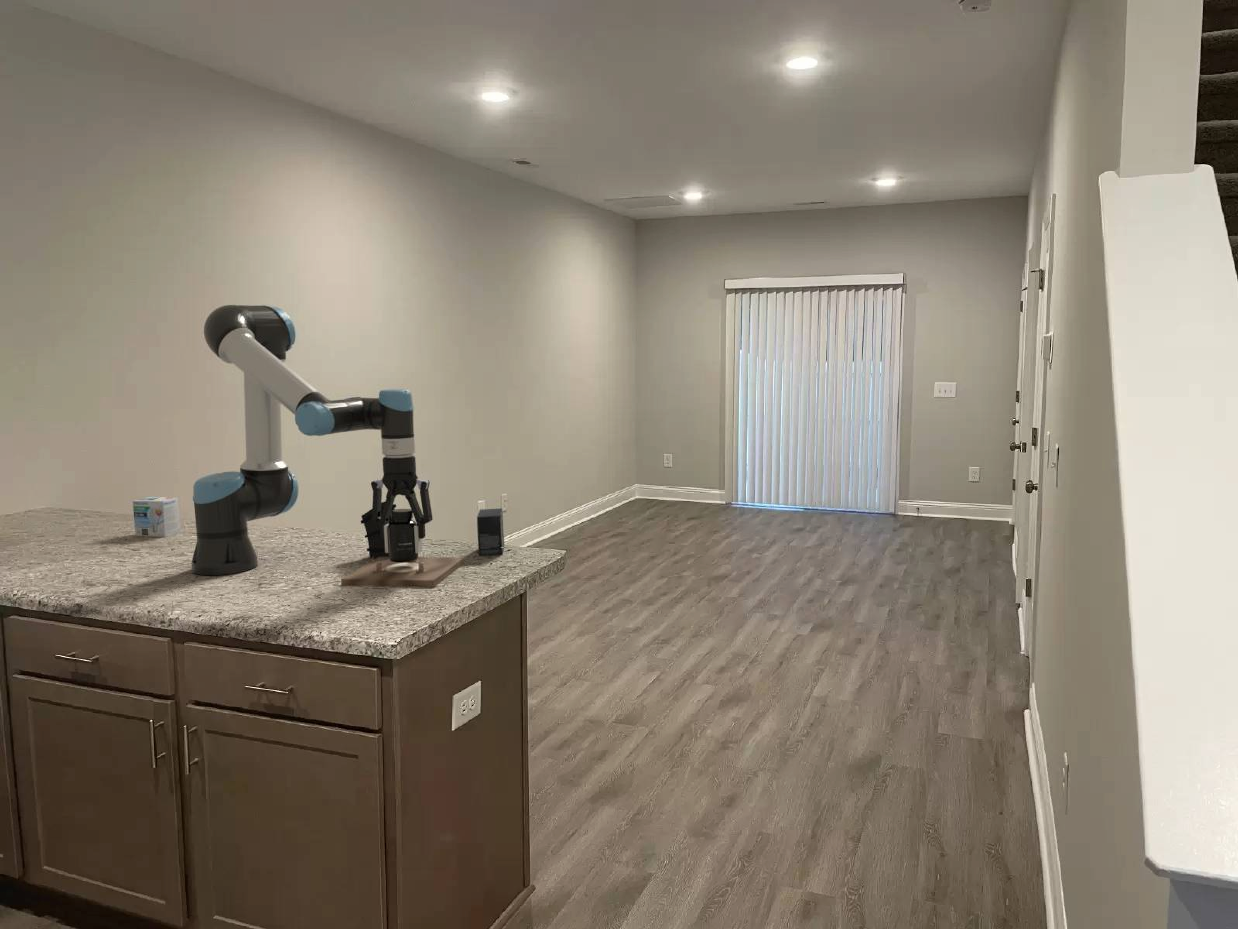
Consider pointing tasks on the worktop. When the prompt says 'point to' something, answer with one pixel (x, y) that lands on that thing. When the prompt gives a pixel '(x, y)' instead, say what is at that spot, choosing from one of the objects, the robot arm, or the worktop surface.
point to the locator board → (403, 572)
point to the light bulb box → (156, 516)
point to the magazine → (375, 534)
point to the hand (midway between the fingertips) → (403, 551)
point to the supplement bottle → (402, 536)
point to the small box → (490, 532)
